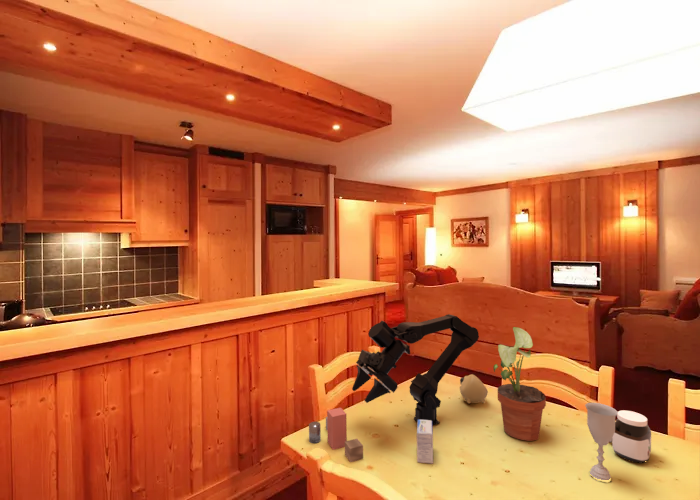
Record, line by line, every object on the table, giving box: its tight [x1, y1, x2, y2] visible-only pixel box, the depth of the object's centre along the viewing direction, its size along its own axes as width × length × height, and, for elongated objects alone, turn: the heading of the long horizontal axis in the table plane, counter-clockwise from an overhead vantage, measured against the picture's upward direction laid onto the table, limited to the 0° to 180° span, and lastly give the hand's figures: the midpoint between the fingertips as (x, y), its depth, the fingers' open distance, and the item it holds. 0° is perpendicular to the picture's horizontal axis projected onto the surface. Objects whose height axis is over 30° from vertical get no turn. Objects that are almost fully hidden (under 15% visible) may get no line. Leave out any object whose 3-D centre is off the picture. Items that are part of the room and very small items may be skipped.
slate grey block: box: [325, 416, 328, 432], centre depth 120 cm, size 4×4×4 cm
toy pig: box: [459, 373, 489, 404], centre depth 140 cm, size 10×12×11 cm
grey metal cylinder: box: [308, 421, 322, 444], centre depth 114 cm, size 4×4×5 cm
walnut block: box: [344, 438, 364, 463], centre depth 105 cm, size 4×4×4 cm
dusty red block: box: [326, 407, 348, 451], centre depth 112 cm, size 4×4×10 cm
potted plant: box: [493, 326, 547, 442], centre depth 116 cm, size 16×15×35 cm
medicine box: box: [416, 420, 434, 464], centre depth 106 cm, size 8×4×9 cm, turn 168°
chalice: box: [584, 402, 618, 480], centre depth 95 cm, size 7×7×18 cm
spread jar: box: [609, 409, 652, 464], centre depth 106 cm, size 12×11×12 cm
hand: (359, 395), depth 115 cm, fingers open, 9 cm apart
